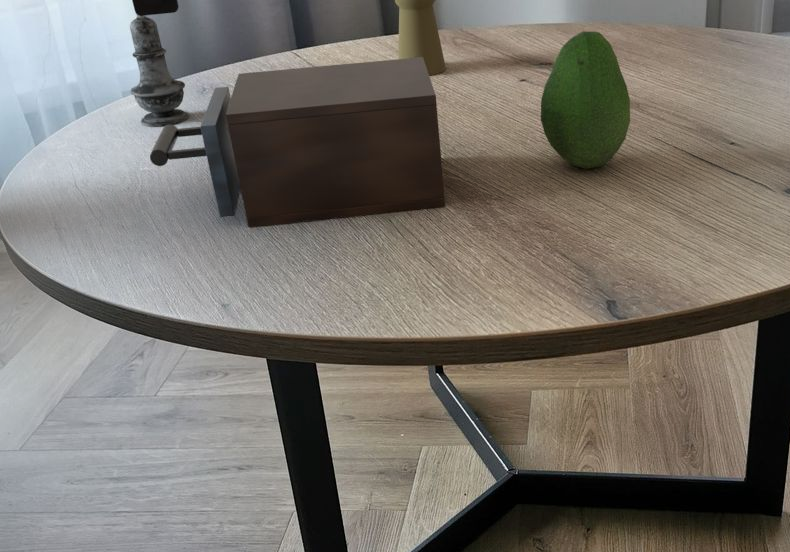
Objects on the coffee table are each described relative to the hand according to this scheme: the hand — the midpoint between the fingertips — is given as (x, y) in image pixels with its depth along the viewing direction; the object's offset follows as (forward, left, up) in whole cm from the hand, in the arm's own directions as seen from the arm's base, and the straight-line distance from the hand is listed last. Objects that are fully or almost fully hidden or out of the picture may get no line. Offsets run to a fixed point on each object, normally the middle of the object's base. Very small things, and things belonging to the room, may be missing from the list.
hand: (165, 1), depth 78 cm
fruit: (+34, -2, -17) cm, 39 cm away
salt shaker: (-8, +26, -17) cm, 32 cm away
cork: (+22, +37, -17) cm, 47 cm away
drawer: (+7, -2, -16) cm, 18 cm away
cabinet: (+12, -2, -17) cm, 21 cm away
